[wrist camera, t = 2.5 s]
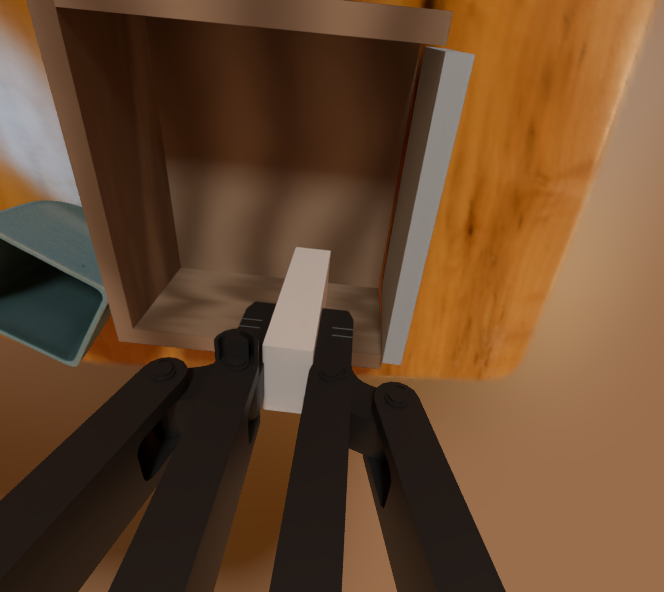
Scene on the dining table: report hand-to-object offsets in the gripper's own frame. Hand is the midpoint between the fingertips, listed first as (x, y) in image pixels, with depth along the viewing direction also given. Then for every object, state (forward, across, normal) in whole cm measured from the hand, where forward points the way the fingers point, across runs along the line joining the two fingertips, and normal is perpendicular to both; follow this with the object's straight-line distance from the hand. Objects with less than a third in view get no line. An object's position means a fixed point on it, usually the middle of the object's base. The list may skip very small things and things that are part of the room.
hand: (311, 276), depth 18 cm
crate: (+15, -4, 0) cm, 15 cm away
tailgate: (+13, +5, 0) cm, 14 cm away
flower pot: (+15, -20, -8) cm, 26 cm away
